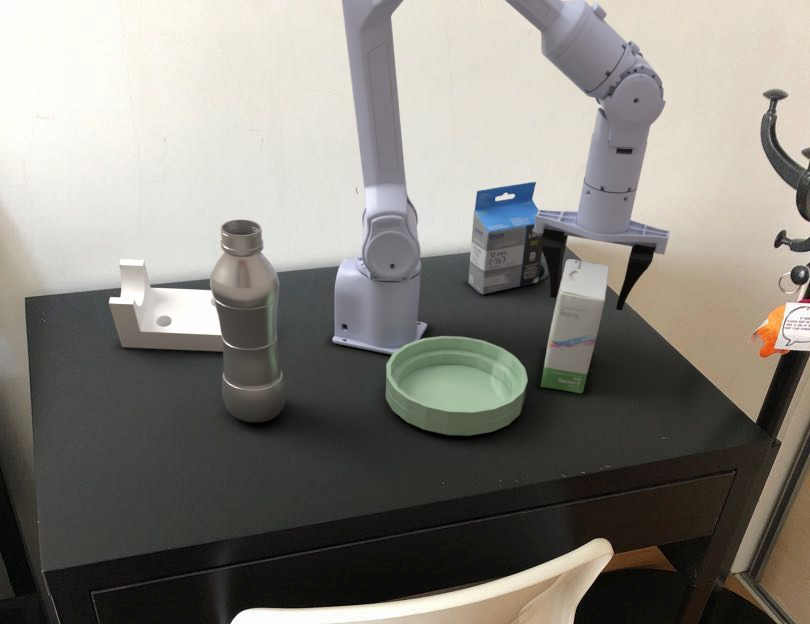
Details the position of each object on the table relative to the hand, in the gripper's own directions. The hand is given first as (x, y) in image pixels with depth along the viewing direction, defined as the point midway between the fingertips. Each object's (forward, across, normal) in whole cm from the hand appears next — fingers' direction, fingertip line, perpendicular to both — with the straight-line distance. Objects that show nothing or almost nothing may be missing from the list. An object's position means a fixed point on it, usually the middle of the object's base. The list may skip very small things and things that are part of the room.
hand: (586, 300), depth 105 cm
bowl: (+6, +11, +17) cm, 21 cm away
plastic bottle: (+6, +30, +27) cm, 41 cm away
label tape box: (+6, +12, -12) cm, 18 cm away
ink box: (+6, 0, +7) cm, 9 cm away
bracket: (+6, +44, +16) cm, 47 cm away
